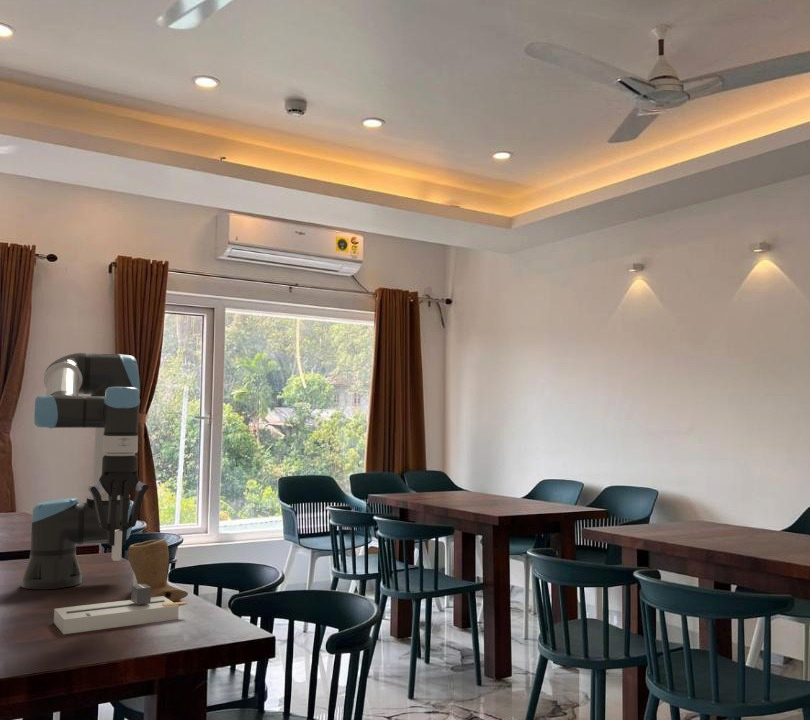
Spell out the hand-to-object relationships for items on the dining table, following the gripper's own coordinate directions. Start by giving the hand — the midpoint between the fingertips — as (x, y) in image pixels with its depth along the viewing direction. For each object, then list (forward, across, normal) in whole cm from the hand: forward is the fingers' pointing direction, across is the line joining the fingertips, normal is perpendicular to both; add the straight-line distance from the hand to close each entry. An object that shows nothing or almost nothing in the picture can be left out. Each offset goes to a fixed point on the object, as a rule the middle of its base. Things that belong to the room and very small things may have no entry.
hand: (116, 559), depth 172 cm
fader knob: (+10, +6, -1) cm, 11 cm away
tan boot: (+14, +13, +16) cm, 25 cm away
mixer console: (+13, +1, -1) cm, 14 cm away
